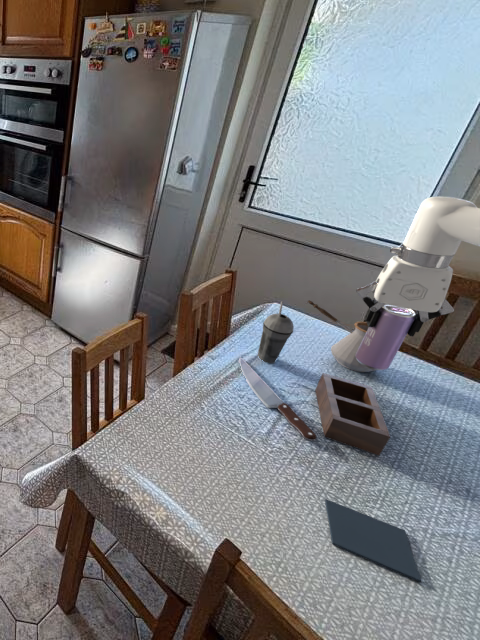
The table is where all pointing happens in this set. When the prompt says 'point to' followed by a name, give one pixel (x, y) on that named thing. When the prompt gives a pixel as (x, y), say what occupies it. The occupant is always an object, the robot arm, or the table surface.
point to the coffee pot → (348, 343)
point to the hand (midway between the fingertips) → (389, 328)
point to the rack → (351, 414)
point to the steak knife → (274, 401)
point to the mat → (371, 539)
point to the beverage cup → (274, 336)
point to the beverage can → (385, 337)
